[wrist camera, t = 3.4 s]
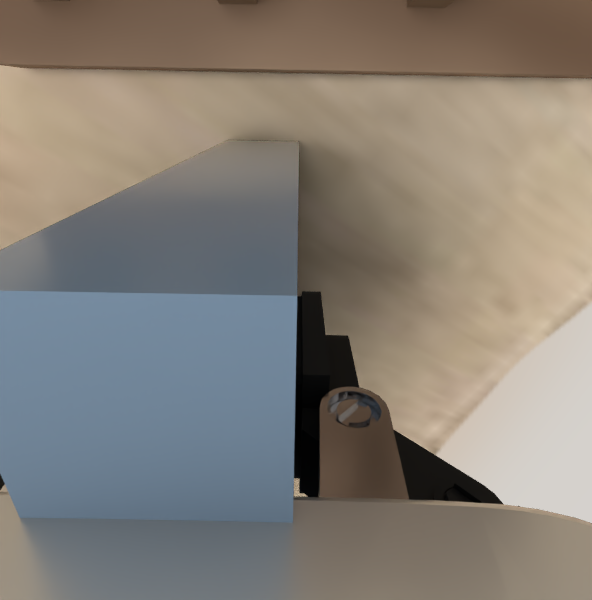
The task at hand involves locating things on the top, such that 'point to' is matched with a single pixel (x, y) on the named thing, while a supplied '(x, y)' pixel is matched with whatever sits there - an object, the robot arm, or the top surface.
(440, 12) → the rack
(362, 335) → the top surface
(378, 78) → the top surface
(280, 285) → the tile
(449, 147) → the top surface
